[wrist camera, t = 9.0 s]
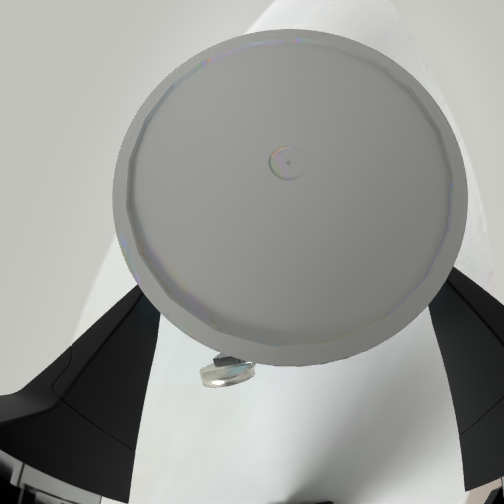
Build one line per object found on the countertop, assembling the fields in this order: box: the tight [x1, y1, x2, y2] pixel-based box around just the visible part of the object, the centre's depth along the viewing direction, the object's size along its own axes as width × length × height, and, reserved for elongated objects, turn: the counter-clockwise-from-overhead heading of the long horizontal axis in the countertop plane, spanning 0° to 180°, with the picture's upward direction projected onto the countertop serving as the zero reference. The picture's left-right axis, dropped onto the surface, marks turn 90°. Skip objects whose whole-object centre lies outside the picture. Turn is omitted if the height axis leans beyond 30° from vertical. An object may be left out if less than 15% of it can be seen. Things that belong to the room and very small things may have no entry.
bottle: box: [113, 29, 468, 367], centre depth 12 cm, size 7×7×15 cm
